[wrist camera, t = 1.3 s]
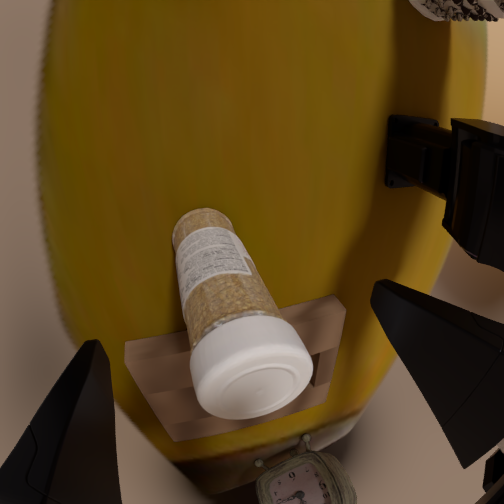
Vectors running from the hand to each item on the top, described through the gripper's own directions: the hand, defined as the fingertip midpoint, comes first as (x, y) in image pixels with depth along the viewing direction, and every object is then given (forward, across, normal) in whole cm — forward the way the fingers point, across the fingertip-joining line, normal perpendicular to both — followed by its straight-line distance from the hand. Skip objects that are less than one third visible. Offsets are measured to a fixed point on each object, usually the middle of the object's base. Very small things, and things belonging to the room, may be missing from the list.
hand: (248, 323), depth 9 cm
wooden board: (+13, -2, +20) cm, 24 cm away
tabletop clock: (+13, -10, +49) cm, 52 cm away
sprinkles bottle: (+13, 0, +3) cm, 14 cm away
